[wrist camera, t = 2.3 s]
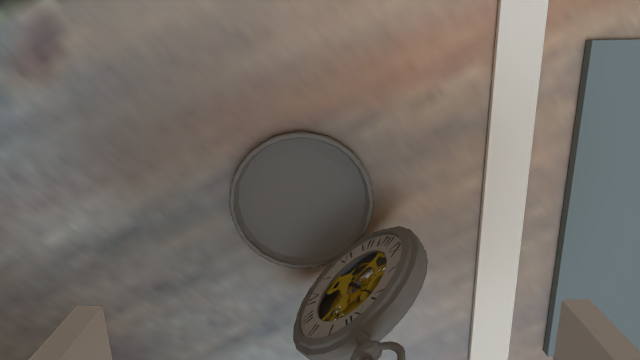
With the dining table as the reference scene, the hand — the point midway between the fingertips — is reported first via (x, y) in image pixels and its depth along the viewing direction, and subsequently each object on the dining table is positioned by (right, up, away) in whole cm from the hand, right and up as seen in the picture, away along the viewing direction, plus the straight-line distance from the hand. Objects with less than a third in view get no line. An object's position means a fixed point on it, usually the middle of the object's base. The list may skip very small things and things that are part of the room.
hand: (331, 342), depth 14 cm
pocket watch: (-1, +3, +10) cm, 10 cm away
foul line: (+8, +3, +10) cm, 13 cm away
